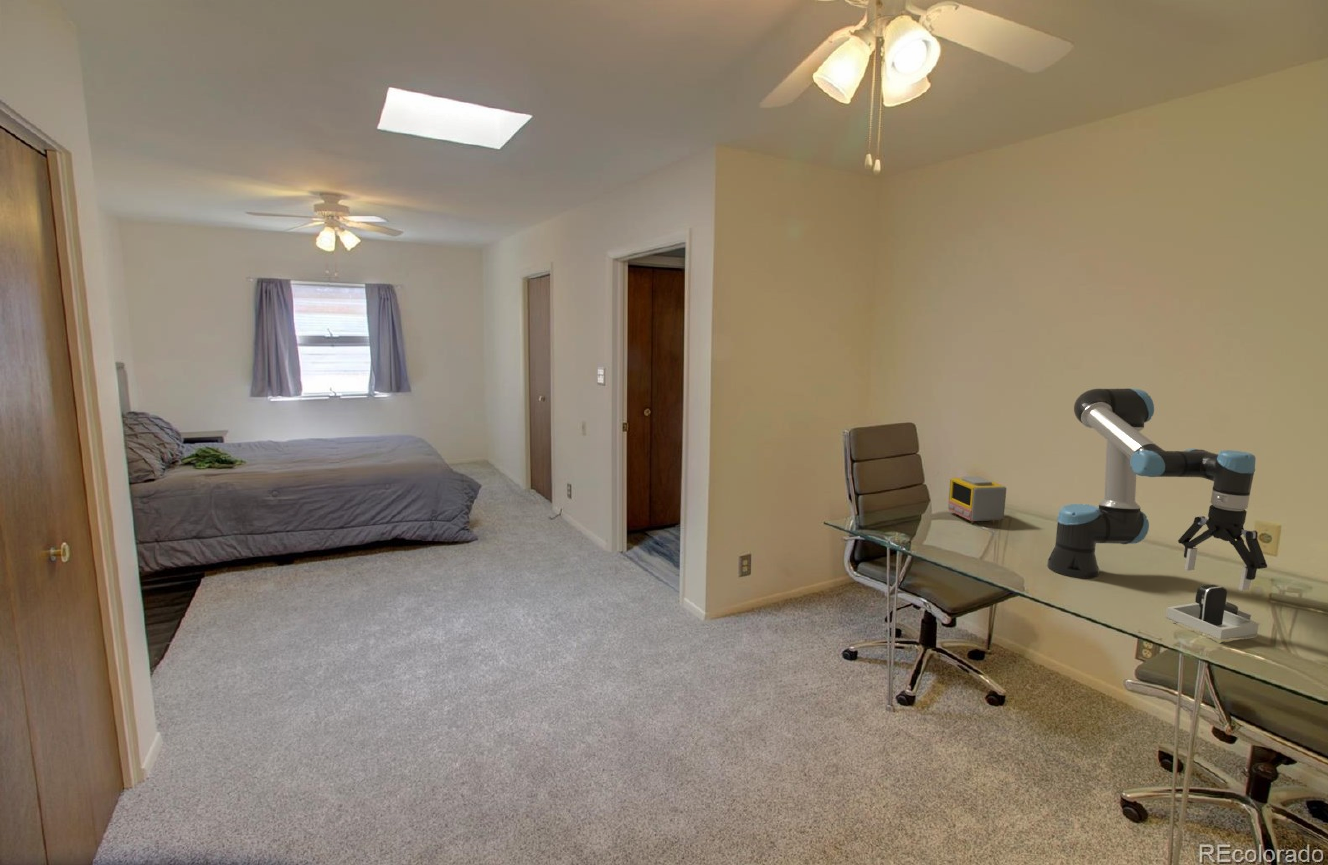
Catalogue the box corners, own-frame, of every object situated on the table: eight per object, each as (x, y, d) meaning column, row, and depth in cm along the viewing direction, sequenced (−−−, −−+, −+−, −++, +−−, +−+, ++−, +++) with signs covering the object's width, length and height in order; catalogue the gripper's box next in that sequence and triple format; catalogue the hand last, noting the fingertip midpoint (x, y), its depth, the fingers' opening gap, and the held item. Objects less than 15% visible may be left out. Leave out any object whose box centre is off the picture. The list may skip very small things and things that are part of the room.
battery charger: (1208, 619, 173) (1213, 582, 171) (1223, 625, 170) (1228, 587, 168) (1189, 622, 172) (1194, 584, 170) (1204, 628, 168) (1209, 589, 166)
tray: (1165, 620, 175) (1166, 607, 174) (1200, 614, 178) (1202, 601, 178) (1219, 643, 162) (1221, 629, 161) (1256, 636, 165) (1258, 623, 164)
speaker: (1191, 609, 182) (1193, 595, 181) (1211, 606, 184) (1213, 592, 183) (1229, 624, 172) (1232, 610, 171) (1249, 621, 174) (1252, 606, 173)
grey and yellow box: (945, 512, 282) (948, 474, 279) (976, 511, 284) (980, 473, 281) (971, 525, 263) (974, 485, 260) (1004, 524, 264) (1008, 483, 261)
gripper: (1169, 495, 175) (1159, 563, 179) (1274, 522, 152) (1259, 600, 155) (1189, 493, 177) (1178, 560, 181) (1294, 520, 153) (1279, 596, 157)
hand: (1215, 579), depth 168 cm, fingers open, 13 cm apart
